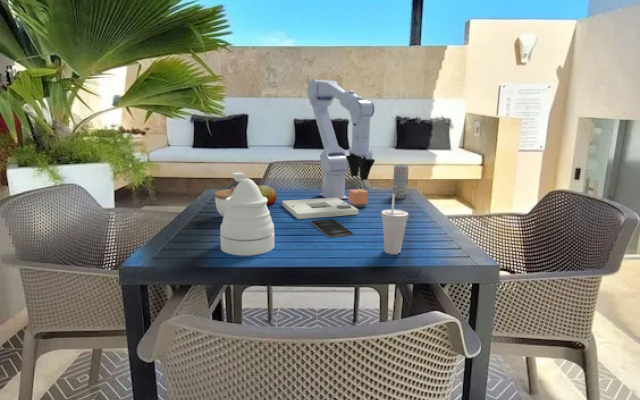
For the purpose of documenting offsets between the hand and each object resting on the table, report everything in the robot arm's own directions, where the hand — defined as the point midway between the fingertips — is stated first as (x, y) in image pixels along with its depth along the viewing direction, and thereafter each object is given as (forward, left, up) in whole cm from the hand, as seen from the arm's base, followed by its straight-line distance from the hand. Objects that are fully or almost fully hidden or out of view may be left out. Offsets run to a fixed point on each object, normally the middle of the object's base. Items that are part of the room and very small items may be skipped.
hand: (359, 177), depth 146 cm
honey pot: (+31, -44, -10) cm, 55 cm away
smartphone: (+23, -19, -10) cm, 32 cm away
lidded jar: (+4, -43, -10) cm, 44 cm away
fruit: (-12, -31, -10) cm, 35 cm away
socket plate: (+2, -15, -10) cm, 18 cm away
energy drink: (-8, +21, -10) cm, 25 cm away
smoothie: (+45, -12, -10) cm, 48 cm away
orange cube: (0, 0, -10) cm, 10 cm away
